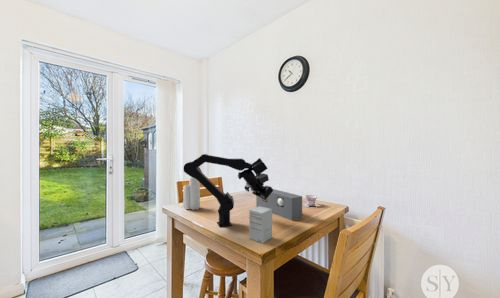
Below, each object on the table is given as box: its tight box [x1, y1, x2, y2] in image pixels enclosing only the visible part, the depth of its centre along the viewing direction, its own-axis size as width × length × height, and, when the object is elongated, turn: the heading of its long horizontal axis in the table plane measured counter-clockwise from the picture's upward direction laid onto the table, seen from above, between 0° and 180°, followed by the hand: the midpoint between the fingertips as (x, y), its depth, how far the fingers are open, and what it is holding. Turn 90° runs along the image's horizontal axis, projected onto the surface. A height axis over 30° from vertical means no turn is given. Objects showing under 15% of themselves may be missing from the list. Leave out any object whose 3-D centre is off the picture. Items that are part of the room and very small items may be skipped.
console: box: [255, 188, 303, 221], centre depth 129 cm, size 8×32×12 cm, turn 35°
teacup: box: [302, 194, 322, 209], centre depth 143 cm, size 12×12×6 cm
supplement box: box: [248, 206, 273, 244], centre depth 93 cm, size 7×7×13 cm
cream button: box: [278, 198, 284, 206], centre depth 122 cm, size 2×4×4 cm, turn 35°
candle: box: [182, 176, 201, 211], centre depth 138 cm, size 11×7×20 cm, turn 81°
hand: (265, 199), depth 117 cm, fingers closed
